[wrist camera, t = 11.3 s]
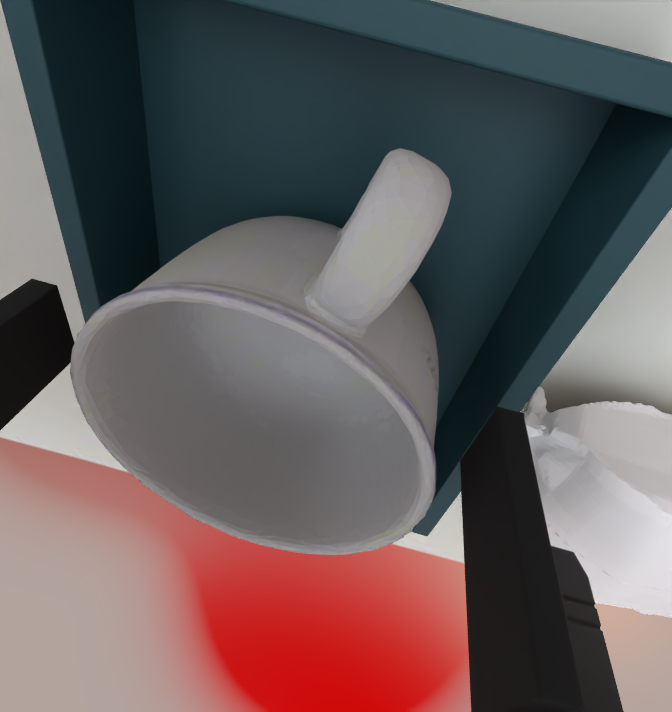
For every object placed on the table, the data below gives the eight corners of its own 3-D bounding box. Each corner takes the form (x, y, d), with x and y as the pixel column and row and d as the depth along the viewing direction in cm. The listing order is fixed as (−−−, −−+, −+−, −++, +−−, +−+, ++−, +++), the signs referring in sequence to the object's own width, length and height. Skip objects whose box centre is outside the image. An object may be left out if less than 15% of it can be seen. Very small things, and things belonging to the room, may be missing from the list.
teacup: (331, 430, 23) (289, 583, 16) (152, 307, 19) (21, 441, 13) (577, 260, 14) (675, 443, 8) (335, 1, 11) (209, -9, 5)
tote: (165, 382, 24) (117, 446, 20) (111, -80, 12) (-33, -119, 8) (429, 458, 23) (427, 536, 20) (663, 62, 11) (763, 86, 8)
